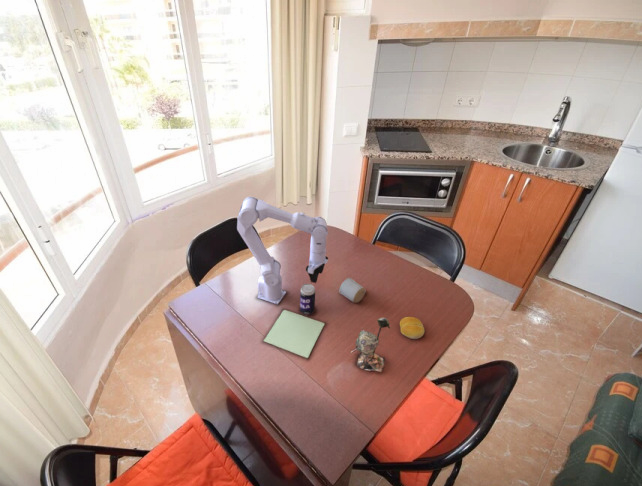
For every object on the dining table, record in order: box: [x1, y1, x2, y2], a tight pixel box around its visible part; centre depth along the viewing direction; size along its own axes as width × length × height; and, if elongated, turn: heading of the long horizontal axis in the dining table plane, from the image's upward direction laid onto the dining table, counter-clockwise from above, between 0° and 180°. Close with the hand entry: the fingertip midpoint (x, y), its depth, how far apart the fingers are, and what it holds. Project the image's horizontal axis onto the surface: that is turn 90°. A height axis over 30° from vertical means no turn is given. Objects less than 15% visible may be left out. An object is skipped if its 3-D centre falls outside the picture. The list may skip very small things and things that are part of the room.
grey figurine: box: [350, 317, 391, 373], centre depth 102 cm, size 8×11×20 cm
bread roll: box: [399, 316, 425, 340], centre depth 116 cm, size 8×9×4 cm
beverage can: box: [299, 283, 316, 316], centre depth 124 cm, size 6×6×12 cm
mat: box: [263, 309, 325, 359], centre depth 118 cm, size 17×17×1 cm
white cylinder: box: [338, 277, 367, 304], centre depth 131 cm, size 11×8×8 cm
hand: (316, 277), depth 128 cm, fingers open, 6 cm apart
